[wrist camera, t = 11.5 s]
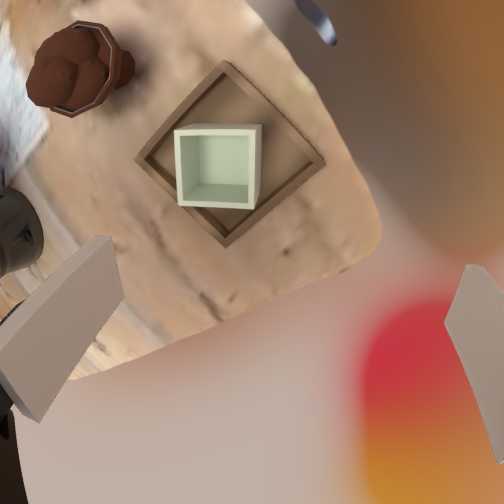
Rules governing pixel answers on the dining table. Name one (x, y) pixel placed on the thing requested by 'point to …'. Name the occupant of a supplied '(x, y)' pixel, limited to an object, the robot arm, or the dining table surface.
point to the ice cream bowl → (78, 69)
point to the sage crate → (218, 164)
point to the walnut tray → (234, 111)
